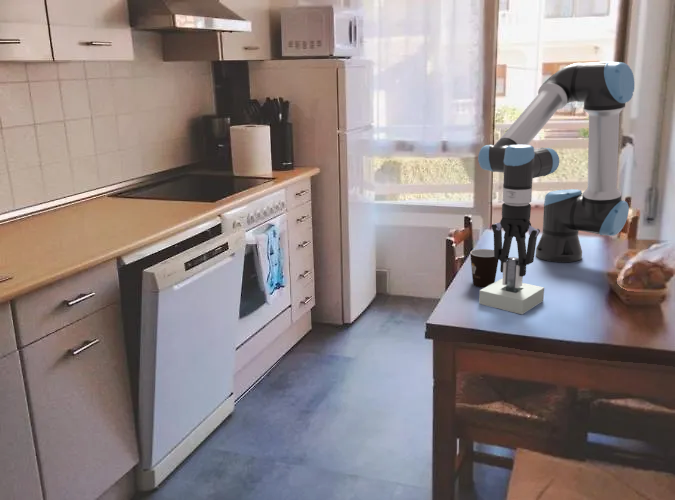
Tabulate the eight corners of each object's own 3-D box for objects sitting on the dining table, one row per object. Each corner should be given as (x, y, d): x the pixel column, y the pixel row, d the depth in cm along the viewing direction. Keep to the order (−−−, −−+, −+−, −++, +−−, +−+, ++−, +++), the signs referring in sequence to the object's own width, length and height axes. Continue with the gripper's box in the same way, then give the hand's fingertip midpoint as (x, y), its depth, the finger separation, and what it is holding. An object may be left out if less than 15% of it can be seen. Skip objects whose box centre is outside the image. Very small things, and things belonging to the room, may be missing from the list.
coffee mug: (498, 289, 188) (500, 257, 185) (469, 288, 190) (470, 256, 187) (497, 277, 199) (498, 246, 196) (469, 276, 201) (470, 245, 198)
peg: (508, 296, 180) (510, 256, 176) (519, 299, 178) (521, 258, 174) (503, 299, 177) (505, 259, 174) (513, 302, 175) (516, 261, 172)
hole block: (501, 291, 187) (502, 278, 185) (543, 300, 178) (544, 287, 177) (479, 303, 177) (479, 290, 176) (522, 314, 169) (522, 300, 168)
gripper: (482, 201, 172) (479, 282, 179) (538, 209, 162) (533, 295, 168) (496, 197, 178) (492, 276, 184) (551, 204, 167) (545, 287, 174)
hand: (512, 285), depth 176 cm, fingers closed on peg, 3 cm apart
